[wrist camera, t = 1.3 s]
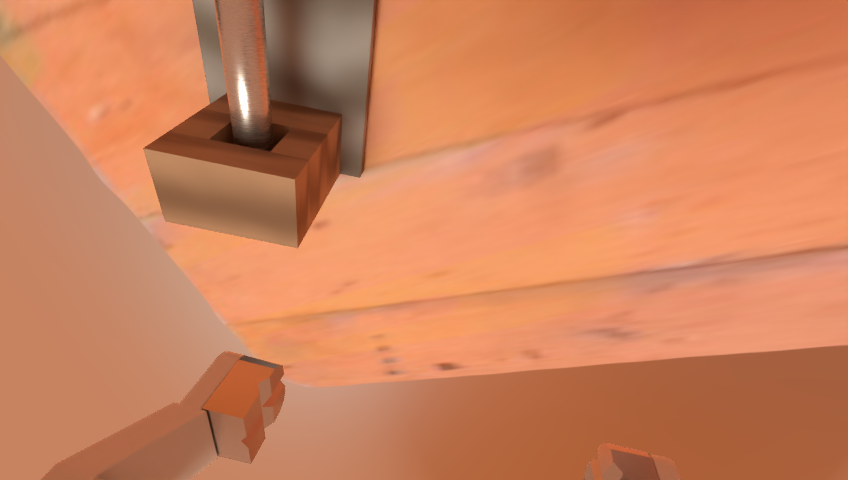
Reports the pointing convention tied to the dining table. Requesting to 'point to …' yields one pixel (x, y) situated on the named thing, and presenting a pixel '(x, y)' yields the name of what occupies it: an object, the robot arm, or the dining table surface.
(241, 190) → the eye post
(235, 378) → the robot arm
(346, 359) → the dining table surface
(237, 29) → the hook rod
